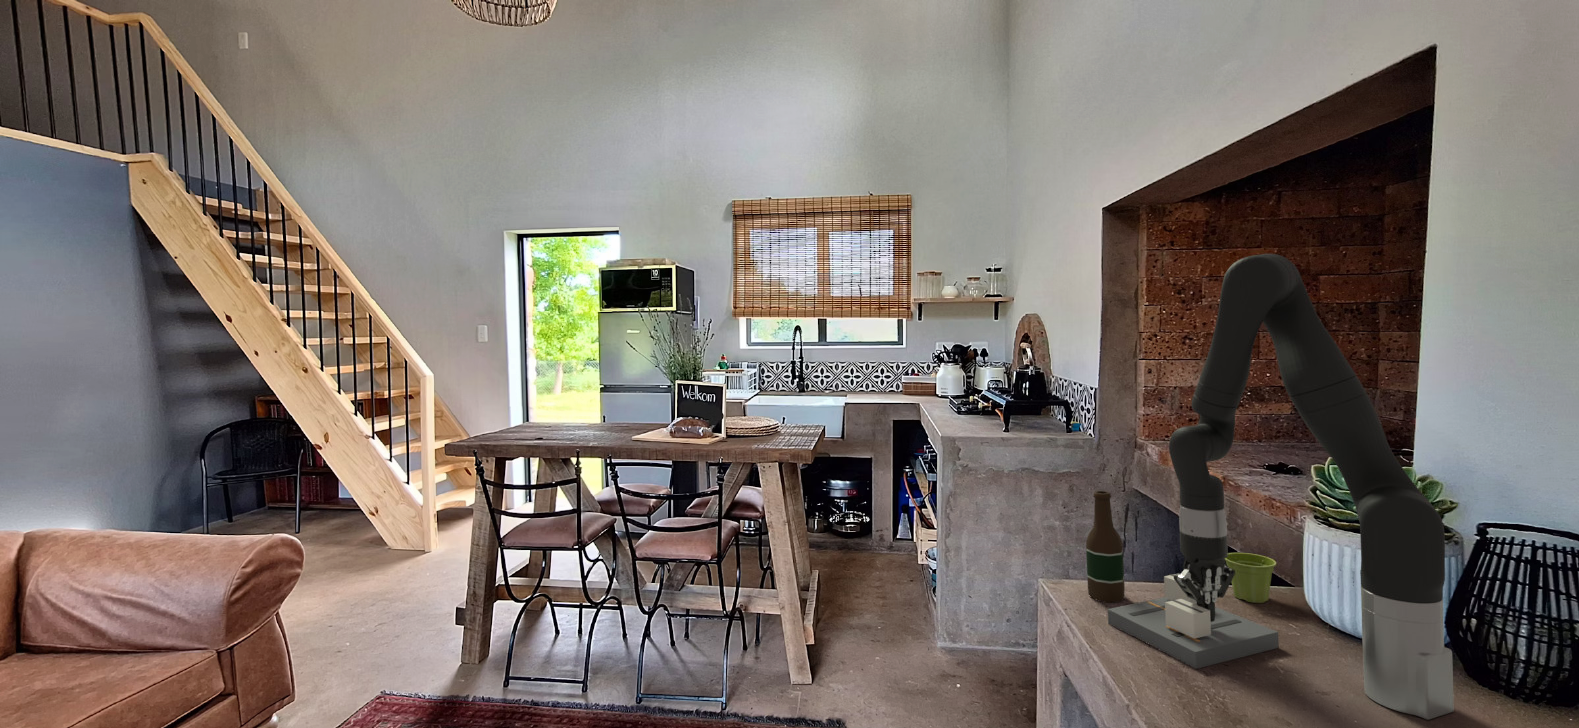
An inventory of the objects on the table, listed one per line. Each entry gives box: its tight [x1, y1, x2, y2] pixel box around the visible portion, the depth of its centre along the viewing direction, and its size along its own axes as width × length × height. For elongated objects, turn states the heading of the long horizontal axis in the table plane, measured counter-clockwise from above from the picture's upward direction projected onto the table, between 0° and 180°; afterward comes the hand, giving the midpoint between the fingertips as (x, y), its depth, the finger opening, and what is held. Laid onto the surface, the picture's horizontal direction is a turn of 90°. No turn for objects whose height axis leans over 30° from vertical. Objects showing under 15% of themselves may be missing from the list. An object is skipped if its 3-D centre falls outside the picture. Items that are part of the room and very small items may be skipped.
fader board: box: [1107, 596, 1280, 670], centre depth 124 cm, size 20×20×3 cm
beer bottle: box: [1085, 490, 1126, 603], centre depth 144 cm, size 8×8×24 cm
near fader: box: [1165, 599, 1211, 639], centre depth 118 cm, size 6×4×5 cm, turn 17°
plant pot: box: [1224, 552, 1277, 604], centre depth 139 cm, size 9×9×9 cm
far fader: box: [1163, 573, 1197, 605], centre depth 131 cm, size 6×4×5 cm, turn 17°
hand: (1206, 620), depth 120 cm, fingers closed
